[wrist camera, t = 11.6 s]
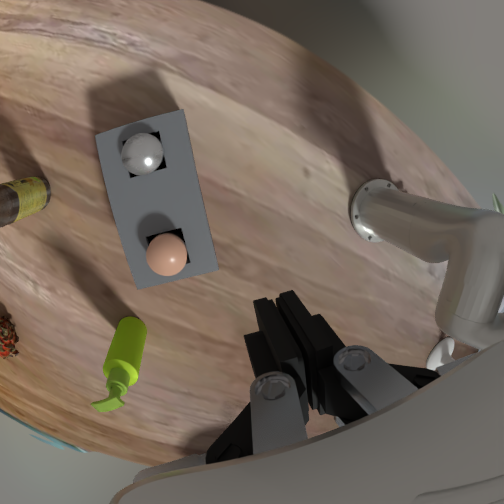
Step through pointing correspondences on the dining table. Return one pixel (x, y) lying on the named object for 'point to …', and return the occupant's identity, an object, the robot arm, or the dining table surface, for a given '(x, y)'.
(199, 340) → the dining table surface
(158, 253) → the terracotta plunger
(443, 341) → the candlestick
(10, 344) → the dragon fruit
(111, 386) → the soap dispenser
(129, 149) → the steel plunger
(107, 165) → the button box
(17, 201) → the sauce bottle
